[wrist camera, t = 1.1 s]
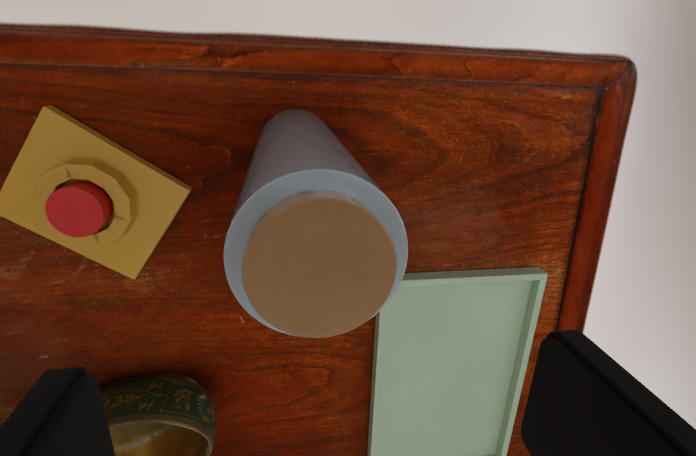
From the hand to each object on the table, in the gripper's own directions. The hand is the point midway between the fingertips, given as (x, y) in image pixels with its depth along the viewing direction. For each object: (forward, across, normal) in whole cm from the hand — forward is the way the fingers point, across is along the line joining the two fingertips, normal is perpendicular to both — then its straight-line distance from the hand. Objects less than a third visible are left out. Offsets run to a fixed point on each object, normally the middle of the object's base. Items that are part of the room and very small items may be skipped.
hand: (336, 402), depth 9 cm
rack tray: (+30, -17, +26) cm, 43 cm away
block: (+30, +16, +4) cm, 34 cm away
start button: (+27, +17, +4) cm, 32 cm away
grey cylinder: (+29, 0, -1) cm, 29 cm away
